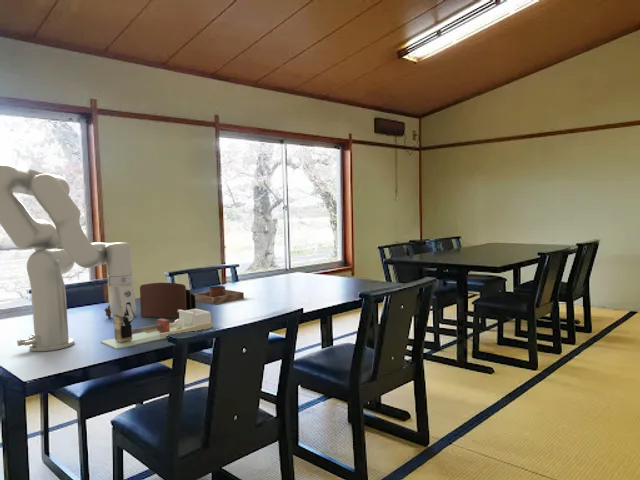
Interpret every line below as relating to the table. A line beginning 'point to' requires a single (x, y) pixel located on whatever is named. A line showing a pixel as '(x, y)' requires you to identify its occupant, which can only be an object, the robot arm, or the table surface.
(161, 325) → the rod
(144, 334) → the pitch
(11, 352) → the table surface
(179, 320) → the ball
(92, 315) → the table surface
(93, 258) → the robot arm
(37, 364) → the table surface
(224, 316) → the table surface
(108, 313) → the brown jagged arch
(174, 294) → the letter holder
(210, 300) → the tray frame
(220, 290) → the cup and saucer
